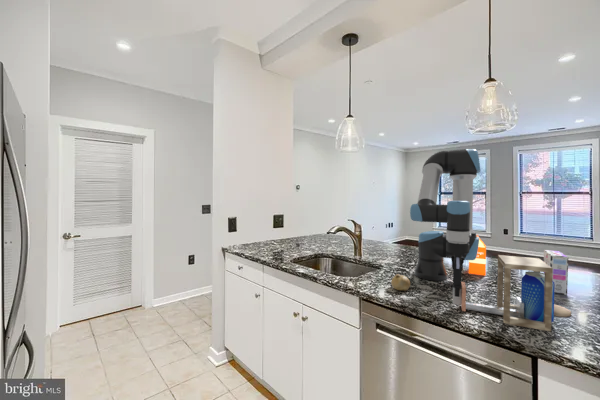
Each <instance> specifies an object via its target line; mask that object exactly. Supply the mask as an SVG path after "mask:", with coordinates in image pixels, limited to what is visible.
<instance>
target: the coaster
mask: <svg viewBox="0 0 600 400" xmlns="http://www.w3.org/2000/svg"><path fill="white" fill-rule="evenodd" d="M571 316H572V311H571V310H569V309H568V308H566V307H564V306H561V305H558V304H555V303H554V317H560V318H568V317H571Z"/></svg>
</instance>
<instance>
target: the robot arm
mask: <svg viewBox="0 0 600 400" xmlns="http://www.w3.org/2000/svg"><path fill="white" fill-rule="evenodd" d="M480 163H481V162H480V157H479V152H478V150H477V149H475V148H462V149H451V150H441V151H438V152H435V153H434V154H432V155H431V156H430V157H428V159H426V161H425V162H424V164H423V166H422V170H421V173H422V180H421V185H420V189H419V195H418V198H417V203H412V204H411V206H410V208H409V209H410V211H409V213H410V214H409V216H410V219H411V221H413V222H421V223H424V222H425V223H442V224H443V223H445V224H446V230H445V231H446V232H445V233H446V234H445V233H444V231H443V230H430V231H429V230H428V231H423V232H421V233H419V234H418V241H417V242H418V255H417V256H418V259H417V260H418V261H417V264H416V266H415V269H414V276H415V277H417V278H419V279H422V280H427V281H439V282H440V281H445V280H447V279H448V272H447V270H446V267H445V264H444V258H445V259H451V268H452V270H453V271H452V275H453V276H452V284H451V285H450V288H452V304H453V305H457V306H461V287H462V286H461V281H462V277H463V275H462V272H463V269H464V263H465V261H469V260H475V259H476V256H477V251H478V246H479V238H480V236H479V235H478V236H479V237H478V236H477V232H476V231H475V230H474V228H473V216H474V215H473V210H474V209H473V205H474V204H473V201H474V198H473V197H474V180H475V179H476V178H477V176H478V174H479V173H481V164H480ZM444 174H445V175H446V174H449V178H450V179H451V180H452V200H449V201H447V202H446V203H447V204H437V202H438V194H439V187H440V182H441V181H440V180H441V177H442V176H443V175H444Z"/></svg>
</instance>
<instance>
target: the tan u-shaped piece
mask: <svg viewBox="0 0 600 400" xmlns="http://www.w3.org/2000/svg"><path fill="white" fill-rule="evenodd" d="M461 286H462V287H461V305H460V308H461V311H462V312H466V311H467V310H470V311H475V312H481V313H487V314H494V315H499V316H503V309H504V308H502V307H497V305H496V306H494V305H489V304H483V303H482V304H480V303H475V302H470V301H467V286H466V282H465V281H462V280H461ZM515 305H516V310H515V309H510V317H515V318H521V319H524V302H523V301H522V300H521V297H520V296H515Z"/></svg>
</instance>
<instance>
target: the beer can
mask: <svg viewBox="0 0 600 400" xmlns="http://www.w3.org/2000/svg"><path fill="white" fill-rule="evenodd" d="M544 283H545V273H544V272H533V271H528V270H527V271H525V272H524V275H523V276H522V277H521V287H520V289H521V297H520V298H521V300H522V301H523V302H524V319H527V320H534V321H540V322H544ZM554 287H555V284H554V282H553V280H552V317H551V324H552V323H554V321H555V319H554V318H555V316H554V304H555V293H554Z"/></svg>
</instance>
